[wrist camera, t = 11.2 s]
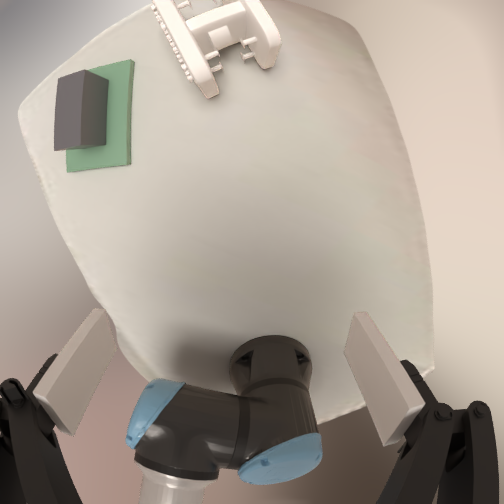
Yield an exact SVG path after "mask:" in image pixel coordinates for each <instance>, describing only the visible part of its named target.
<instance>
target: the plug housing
mask: <svg viewBox="0 0 504 504" xmlns="http://www.w3.org/2000/svg"><path fill="white" fill-rule="evenodd" d="M108 85H109V80H108V79H105V78H103V77H101V76H99V75H97V74H94V73H92V72H90V71H87V70H82V71H79V72H75V73H72V74H70V75H67V76H64V77H61V78H58V85H57V94H56V106H55V125H54V151H60V150H75V149H85V148H91V147H96V146H103V145H106V120H107V98H108Z"/></svg>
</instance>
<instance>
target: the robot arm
mask: <svg viewBox="0 0 504 504" xmlns="http://www.w3.org/2000/svg"><path fill="white" fill-rule="evenodd" d="M116 350H117V347H116V344H115V340H114V337H113V334H112V330H111V327H110V324H109V320H108V316H107V313H106V309H97V308H94V309H93V310H92V312H91V313H90V314H89V315H88V317H87V318H86V319H85V320H84V322H83V323H82V324H81V325H80V327H79V328H78V329H77V331H76V332H75V333H74V334H73V336H72V337H71V338H70V340H69V341H68V342H67V344H66V345H65V346H64V348H63V349H62V350H61V352H60V353H59V354H54V355H53V356H51V357H50V358H48V360H47V361H46V362H45V364H44V365H43V368H41V369H40V370H39V373H37V375H36V376H35V377H34V379H33V380H32V382H31V383H30V385H29V386H28V388H27V389H26V391H25V390H24V388H23V386H22V385H21V383H20V382H19V381H18V380H17V379H14V378H10V379H7V380H5V381H4V382H3V383H1V385H0V395H1V396H2V398H0V432H1V434H0V504H83V503H82V501H81V499H80V497H79V495H78V493H77V490H76V488H75V486H74V484H73V481H72V479H71V476H70V474H69V471H68V469H67V466H66V464H65V461H64V458H63V455H62V452H61V449H60V447H59V443H58V440H57V437H56V434H55V432H54V430H53V428H54V426H55V425H56V426H57V428H58V429H59V430H60V431H61V432H63V433H65V434H68V435H71V436H74V435H75V432H76V430H77V428H78V426H79V424H80V422H81V419H82V417H83V415H84V413H85V411H86V409H87V407H88V404H89V402H90V400H91V398H92V396H93V394H94V392H95V390H96V388H97V386H98V384H99V382H100V380H101V378H102V376H103V374H104V373H105V371H106V369H107V367H108V365H109V363H110V361H111V359H112V357H113V356H114V354H115V352H116ZM344 354H345V356H346V358H347V361H348V363H349V365H350V367H351V370H352V372H353V374H354V377H355V379H356V381H357V383H358V386H359V388H360V390H361V393H362V395H363V397H364V400H365V402H366V405H367V407H368V409H369V412H370V414H371V416H372V419H373V421H374V424H375V426H376V429H377V431H378V434H379V436H380V439H381V441H382V444H383V446H386V445H389V444H393V443H396V442H399V440H400V439H401V438H402V436H403V435H404V436H405V438H406V442H405V443H404V444H403V445H402V447H401V448H400V449H399V450H398V453H400V451H401V453H400V455H399V457H398V460H397V462H396V465H395V467H394V469H393V471H392V473H391V475H390V477H389V479H388V482H387V484H386V486H385V488H384V490H383V491H382V493H381V495H380V497H379V499H378V501H377V503H376V504H432V501H433V499H434V496H435V493H436V491H437V488H438V485H439V489H438V499H437V504H499V473H498V459H497V449H496V440H495V434H494V427H493V421H492V416H491V411H490V409H489V407H488V406H487V404H486V403H484V402H482V401H474V402H472V403H471V404H470V405H469V407H468V408H467V409H461V410H453V409H452V408H451V407H450V406H449V405H447V404H445V403H438V401H437V400H436V398H435V397H434V395H433V393H432V392H431V390H430V389H429V387H428V386H427V384H426V383H425V381H423V378H422V376H421V375H419V372H418V370H417V369H416V367H415V366H414V365H413V364H412V363H410V362H409V361H408V360H402V361H399V359H398V358H397V356H396V355H395V353H394V352H393V350H392V349H391V347H390V346H389V344H388V343H387V341H386V340H385V338H384V337H383V335H382V334H381V332H380V331H379V329H378V328H377V326H376V325H375V323H374V322H373V320H372V319H371V317H370V316H369V314H368V313H367V312H357V313H354V314H353V319H352V323H351V327H350V331H349V335H348V339H347V343H346V346H345V350H344ZM311 373H312V363H311V359H310V356H309V353H308V351H307V349H306V348H305V347H304V346H303V345H302V344H301V343H299V342H298V341H296V340H294V339H291V338H288V337H284V336H265V337H260V338H256V339H253V340H251V341H249V342H247V343H245V344H243V345H242V346H241V347H240V348H238V349H237V350H236V352H235V353H234V354H233V356H232V358H231V361H230V378H231V381H232V384H233V386H234V388H235V391H236V393H237V395H234V394H229V393H223V392H218V391H213V390H209V389H204V388H200V387H195V386H191V385H187V384H186V383H185V382H181V383H179V382H175V381H170V380H166V379H154V380H152V381H151V382H150V383H148V385H147V386H146V387H145V389H144V390H143V392H142V394H141V396H140V398H139V400H138V402H137V404H136V406H135V409H134V411H133V414H132V416H131V419H130V423H129V425H128V429H127V436H126V444H127V445H128V446H129V447H130V448H131V449H136V453H135V458H134V462H135V463H136V465H137V466H138V467H139V469H140V470H141V471H142V473H143V477H142V483H141V491H140V497H139V504H202V502H203V495H204V490H205V487H206V486H208V485H210V484H212V483H213V482H215V481H217V480H218V475H219V469H220V468H226V469H235V470H238V475H239V477H240V479H241V480H242V481H244V482H248V483H250V484H259V485H265V484H275V483H280V482H285V481H289V480H292V479H295V478H297V477H300V476H302V475H304V474H306V473H308V472H310V471H311V470H312V469H314V468H315V467H316V466H317V465H318V464H319V463H320V461H321V459H322V444H321V435H320V434H319V430H318V426H317V422H316V418H315V414H314V410H313V406H312V402H311V398H310V395H309V385H310V379H311Z"/></svg>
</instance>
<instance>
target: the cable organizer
mask: <svg viewBox="0 0 504 504" xmlns="http://www.w3.org/2000/svg"><path fill="white" fill-rule="evenodd" d="M213 1H214V2H215V3H216V1H215V0H213ZM222 1H223V4H224V6H221V7H219V8H216V9H213V10H210V11H208V12H205V13H203V14H200V15H198V16H196V17H195V16H193V18H191V19H189V20H187V21H185V19H184V18H183V16H182V14H181V12H180V11H179V9H181V8H184V7H186V6H188V5H190V7H191V8H192V6H191V3H190V2H189V0H187V1H185V2H183V3H180V4H178V5H176V4H175V2H174V0H152V2H153V4H154V5H152V6H151V8H152V10H153V11H154V14H155V15H156V17H157V20H158V22H159V23H160V25H161V27H162V29H163V31H164V33H165V34H166V37H167V38H168V40H169V42H170V44H171V46H172V48H173V50H174V52H175V54H176V56H177V58H178V60H179V62H180V63H181V64H183V63H184V64H183V65H181V67H182V68H183V70H184V71H186V70H187V71H186V72H185V74H186V75H187V76H188V75H190V76H188V77H187V78H188V80H189V81H190V83H191V82H193V81H194V83H195V84H197V85H198V87H199V88H200V90H201V91H202V93H203V94H204V96H205V97H206V98H207V99H209V98H211V97H213V96H215V95H218V94H219V89H218V86H217V84H216V81H215V78H214V76H213V72H215V71H217V70H220V69H222V70H223V67H222V65H221V63H220V62H219V65H217V66H214V67H212V68H210V66H209V64H208V62H207V60H209V59H211V58H213V57H216V56H219V57H220V55H219V52H218V50H221V49H223V48H225V47H227V46H230V45H233V44H235V43H238V42H241V44H242V45H243V47H244V46H245V45H248V46H249V48H250V50H251V52H250V53H247V54H244V55H243V54H241V53H240V54H241V58H242V59H243V61H244V60H245V59H247V58H250V57H253V56H254V57H255V59H256V61H257V62H258V64H259V65H260V67H261V68H262V69H267V68H269V67H272V66H274V64H275V61H276V58H277V55H278V53H279V50H280V47H281V37H280V34H279V31H278V29H277V27H276V25H275V24H274V22H273V20H272V19H271V17H270V16H269V14H268V13H267V11H266V10H265V8H264V7H263V5H262V4H261V2H260V1H259V0H222ZM244 49H245V47H244ZM244 62H245V61H244ZM223 72H224V71H223Z"/></svg>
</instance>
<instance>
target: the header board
mask: <svg viewBox="0 0 504 504" xmlns="http://www.w3.org/2000/svg"><path fill="white" fill-rule="evenodd" d="M87 71H90V72H92V73H94V74H97V75H99V76H101V77H103V78H105V79H108V80H109V85H108V98H107V120H106V145H103V146H96V147H91V148H85V149H75V150H66V164H67V173H68V172H74V171H80V170H87V169H95V168H102V167H111V166H120V165H129V164H131V142H130V141H131V101H132V85H133V73H134V61H132V60H131V59H130V60H126V61H121V62H117V63H113V64H109V65H105V66H101V67H97V68H94V69H90V70H87Z"/></svg>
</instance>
